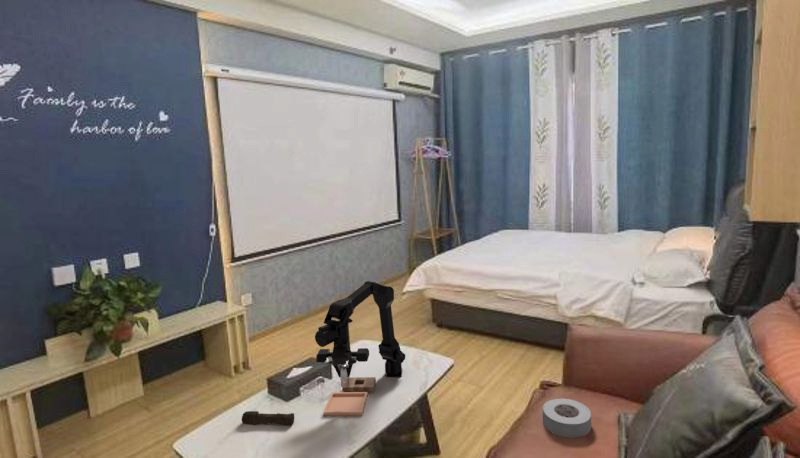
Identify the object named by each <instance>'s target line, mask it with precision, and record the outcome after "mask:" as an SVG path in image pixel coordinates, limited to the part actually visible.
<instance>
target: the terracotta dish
mask: <svg viewBox="0 0 800 458" xmlns="http://www.w3.org/2000/svg"><path fill="white" fill-rule="evenodd" d="M368 394H369V393H367V392H343V391H341V392H340V391H339V392H338V391H337V392H330V396H329V398H328V401H327V403H326V405H325V408H324V410H323V417H363V416H364V411H365V408H366V404H367V400H368V396H369V395H368Z"/></svg>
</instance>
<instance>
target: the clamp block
mask: <svg viewBox="0 0 800 458" xmlns="http://www.w3.org/2000/svg"><path fill="white" fill-rule="evenodd" d="M376 382H377V381H376V376H374V377H372V376H370V377H369V376H368V377H367V376H365V377H359V376H357V377H349V387H346V388H343V387H342V392H367V393H368V394H374V391H375V388H376V384H377V383H376Z"/></svg>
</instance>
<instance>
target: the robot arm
mask: <svg viewBox="0 0 800 458" xmlns="http://www.w3.org/2000/svg"><path fill="white" fill-rule="evenodd" d="M394 290H395V289H394V288H393V287H392V286H390V285H383V284H380V283H378V282H376V281H370V280H367V281H365V282H364V283H363V284H362V285H360V287H359V288H357V289H355V290H354V291H353V292H352V293H351V294H349V295H348V296H347V297H345V298H341V299H337V300H336V301H334V302H332V303H331V304H330V305H329V308H328V310H327V313H326V315H325V318H324V321H323V324H324V325H323V326H319V327H318V330H317V331H316V332H315V335H314V340H315V342H316V344H317V345H318V346H319V347H320V348H321V349H319V350H318V351H317V354H315V355H316V356H315V361H316V363H325V362H326V361H327V359H328V361H327V363H328V365H331V366H333V368H334V370H335V371H336V374H337V376H338V378H340V365H345V364H348V377H349V378H351V377H350V376H351V372H352V369H353V365H354V364H357V362H358V363H359V362H360V363H362V362H363V363H364V362H368V360H369V356H370V350H369V349H368V348H366V347H365V348H364V347H362V348H361V347H360V348H357V350H356V351H354V350H353V351H352V350H351V340H350V338H351V337H350V327H349V326H350V325H349V324H350V323H352V322H354V321H353V319H351V317H352V315H353V314H354V310H355V309H356V307H358V306H359V305H360V304H361V303H363V302H364V301H365V300H366V299H367V298H369V297H370V296H372V297H373V300H374V303H375V304H376V306H377V307H378V311H379V319H380V326H381V327H380V328H381V329H380V330H381V335H382V339H381V342H380V343H379V344H378V346H377V347H378V354H379V355H380V357H381V358H382V360H384V373H385V374H386V375H385V376H386V377H387V378H392V377H393V378H394V377H396V378H398V377H402V375H403V369H404V368H403V364H402V363H404V361H405V360H406V354H405V353H404V352H403V351H402V349H401V347H400V346H401V345H400V342H398V340H397V339H396V337H395V329H394V319H393V311H392V304H393V302H394V300H395V291H394ZM330 344H333V346H332V347H333V348H332V351H331V349H330V348H324V347H326V346H328V345H330Z"/></svg>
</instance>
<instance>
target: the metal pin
mask: <svg viewBox="0 0 800 458" xmlns="http://www.w3.org/2000/svg"><path fill="white" fill-rule="evenodd" d="M339 378H340V387H341V388H342V389H343V388H346V387H349V378H350V377H348V363H346V364H345V365H340V377H339Z"/></svg>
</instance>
